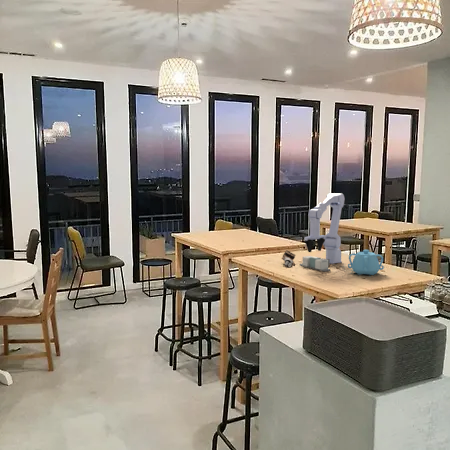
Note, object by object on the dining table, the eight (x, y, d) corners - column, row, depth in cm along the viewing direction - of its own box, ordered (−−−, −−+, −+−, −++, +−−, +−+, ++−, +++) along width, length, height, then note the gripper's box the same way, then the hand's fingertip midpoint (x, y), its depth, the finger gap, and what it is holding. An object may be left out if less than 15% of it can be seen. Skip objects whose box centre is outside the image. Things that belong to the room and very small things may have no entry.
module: (315, 265, 276) (315, 256, 275) (320, 267, 272) (320, 257, 271) (310, 266, 274) (310, 257, 274) (315, 267, 270) (315, 258, 269)
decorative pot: (386, 275, 254) (387, 251, 252) (363, 277, 248) (363, 253, 247) (367, 269, 269) (368, 246, 268) (344, 271, 263) (345, 248, 262)
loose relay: (322, 264, 285) (322, 258, 284) (329, 265, 281) (329, 259, 281) (318, 265, 281) (318, 259, 281) (325, 266, 278) (325, 260, 277)
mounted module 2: (322, 267, 272) (323, 258, 271) (328, 268, 268) (328, 259, 267) (315, 268, 269) (315, 259, 268) (320, 269, 265) (320, 261, 264)
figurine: (284, 257, 276) (285, 247, 290) (277, 267, 279) (278, 257, 293) (297, 264, 276) (297, 254, 290) (290, 274, 279) (291, 264, 293)
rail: (305, 264, 284) (305, 262, 284) (330, 270, 265) (330, 269, 265) (299, 265, 282) (299, 263, 282) (323, 271, 263) (323, 270, 263)
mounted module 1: (310, 263, 282) (310, 255, 281) (315, 265, 278) (315, 256, 277) (302, 264, 279) (302, 256, 278) (307, 266, 275) (307, 257, 274)
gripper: (310, 230, 266) (309, 253, 268) (328, 228, 274) (328, 251, 275) (302, 229, 272) (301, 251, 274) (320, 227, 280) (320, 249, 281)
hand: (314, 251), depth 275 cm, fingers open, 7 cm apart
